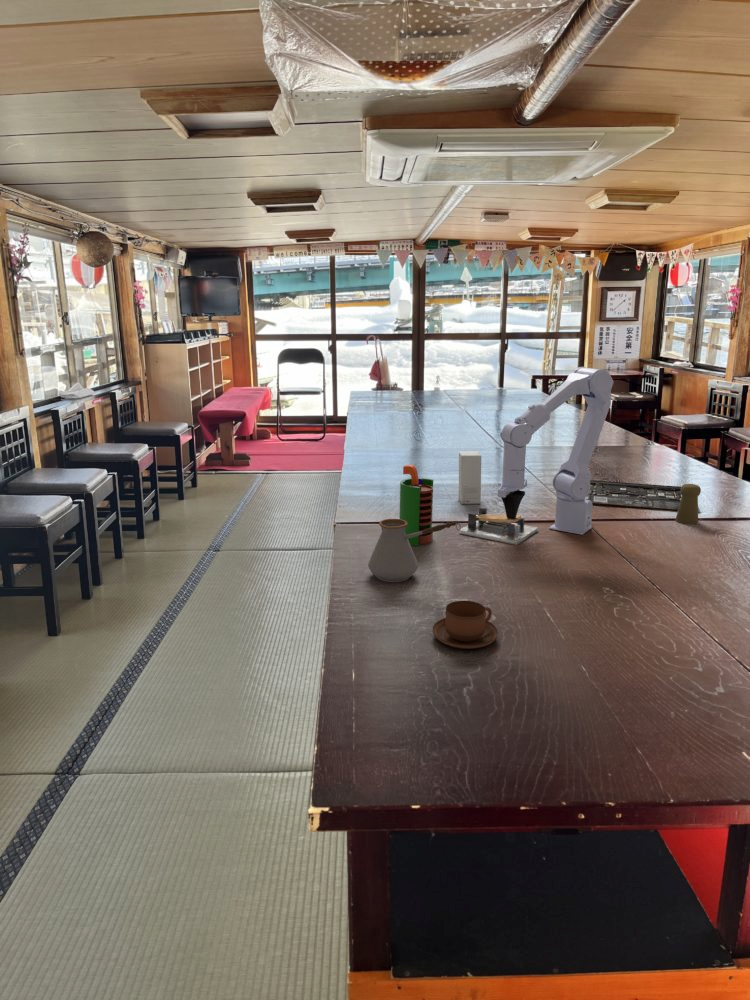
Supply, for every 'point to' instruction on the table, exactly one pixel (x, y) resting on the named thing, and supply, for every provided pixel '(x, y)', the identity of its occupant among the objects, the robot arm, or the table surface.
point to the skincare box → (470, 477)
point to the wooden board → (496, 518)
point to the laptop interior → (635, 495)
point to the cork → (688, 504)
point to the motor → (416, 505)
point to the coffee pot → (397, 551)
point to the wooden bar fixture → (497, 529)
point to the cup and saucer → (465, 626)
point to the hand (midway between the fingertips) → (511, 517)
